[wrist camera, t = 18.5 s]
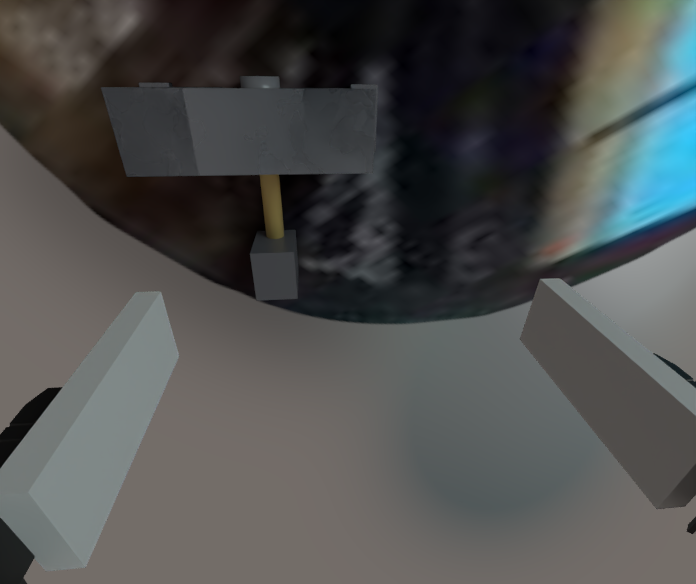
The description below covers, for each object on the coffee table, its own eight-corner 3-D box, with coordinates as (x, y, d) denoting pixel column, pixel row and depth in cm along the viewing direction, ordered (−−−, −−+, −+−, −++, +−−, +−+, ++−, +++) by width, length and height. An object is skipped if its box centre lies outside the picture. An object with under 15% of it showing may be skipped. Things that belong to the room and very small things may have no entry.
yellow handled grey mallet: (237, 76, 31) (224, 75, 26) (284, 77, 32) (280, 75, 26) (262, 273, 41) (256, 300, 36) (298, 271, 41) (297, 298, 36)
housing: (142, 82, 31) (60, 81, 20) (376, 84, 33) (409, 83, 22) (158, 152, 34) (93, 182, 23) (373, 150, 35) (402, 177, 25)
